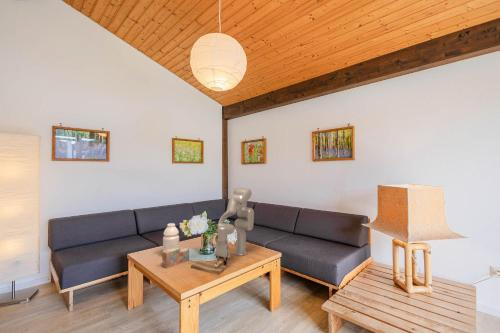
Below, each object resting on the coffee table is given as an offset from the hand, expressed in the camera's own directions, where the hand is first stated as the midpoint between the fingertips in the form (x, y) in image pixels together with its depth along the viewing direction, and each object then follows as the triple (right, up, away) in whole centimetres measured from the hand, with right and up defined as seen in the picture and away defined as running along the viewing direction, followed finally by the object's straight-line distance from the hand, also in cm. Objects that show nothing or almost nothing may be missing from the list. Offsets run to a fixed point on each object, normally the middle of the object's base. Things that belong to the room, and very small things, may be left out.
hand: (222, 264), depth 188 cm
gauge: (-2, -1, -4) cm, 4 cm away
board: (-10, -1, -4) cm, 11 cm away
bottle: (-48, -1, +22) cm, 53 cm away
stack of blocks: (-38, -1, +5) cm, 39 cm away
